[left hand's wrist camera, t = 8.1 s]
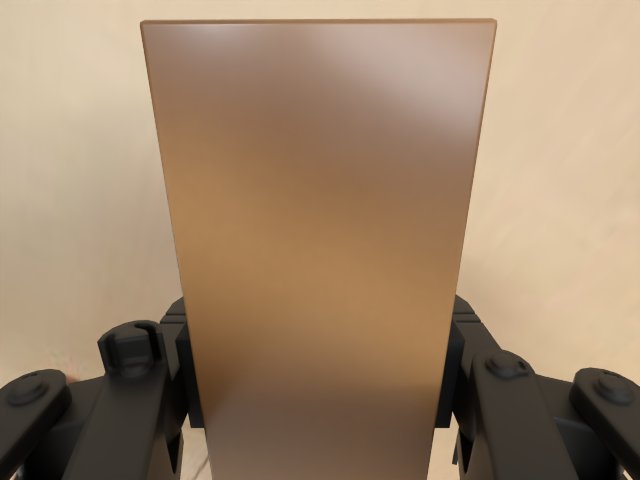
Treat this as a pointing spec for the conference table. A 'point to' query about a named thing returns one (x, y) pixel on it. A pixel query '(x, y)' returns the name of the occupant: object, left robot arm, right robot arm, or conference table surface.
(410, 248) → the beam
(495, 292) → the conference table surface
